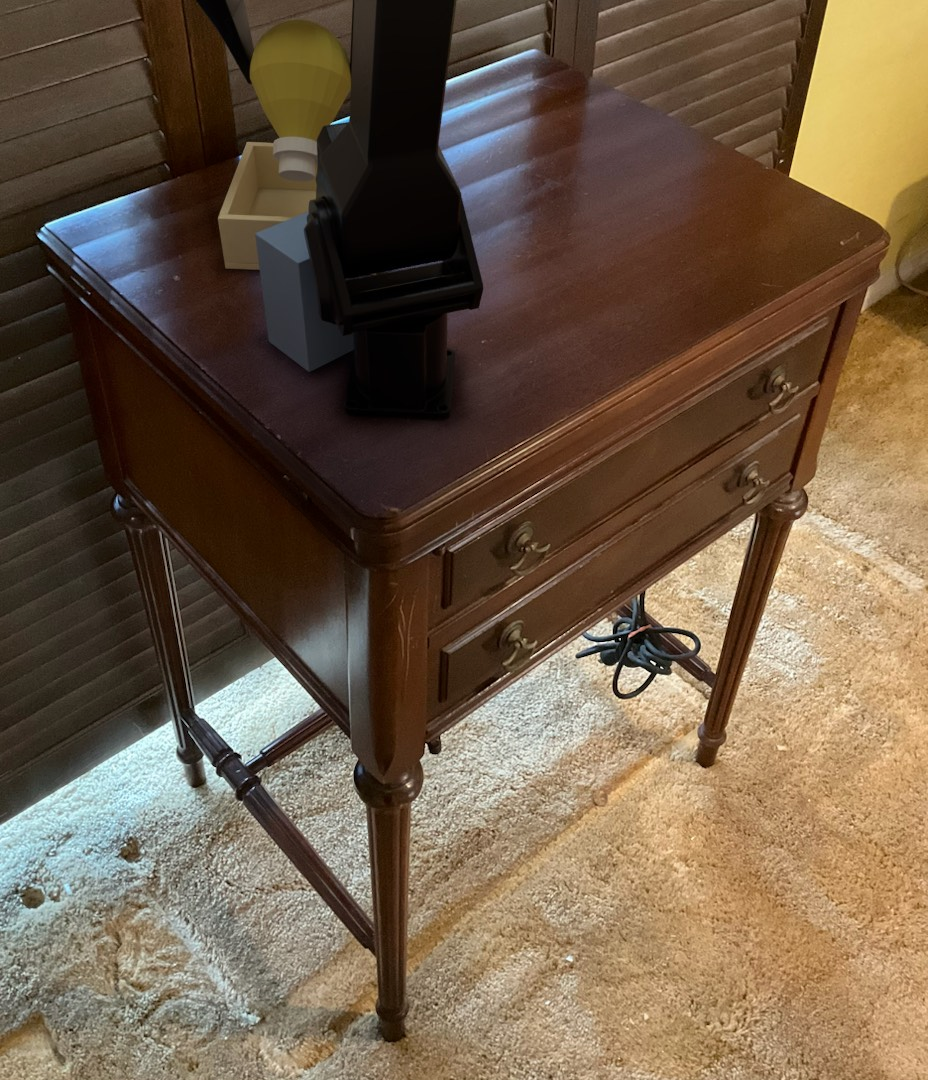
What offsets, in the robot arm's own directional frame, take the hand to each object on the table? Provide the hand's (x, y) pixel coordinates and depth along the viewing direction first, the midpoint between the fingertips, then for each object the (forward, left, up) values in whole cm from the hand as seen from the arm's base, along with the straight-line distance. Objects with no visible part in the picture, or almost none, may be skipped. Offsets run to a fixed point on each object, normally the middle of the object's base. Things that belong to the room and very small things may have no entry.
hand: (304, 83), depth 75 cm
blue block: (-14, -2, -11) cm, 18 cm away
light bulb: (-6, 0, -4) cm, 7 cm away
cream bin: (0, 0, -11) cm, 11 cm away
